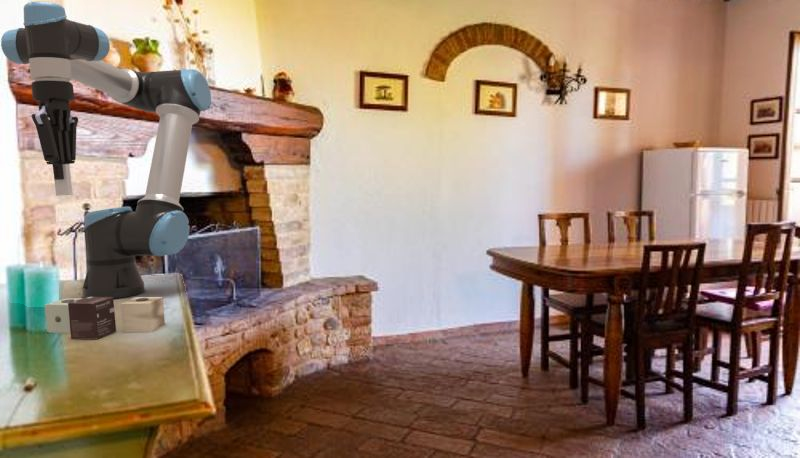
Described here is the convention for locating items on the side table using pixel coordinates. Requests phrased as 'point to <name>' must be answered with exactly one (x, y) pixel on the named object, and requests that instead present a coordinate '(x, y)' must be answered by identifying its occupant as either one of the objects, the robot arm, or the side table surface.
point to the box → (91, 317)
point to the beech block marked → (142, 314)
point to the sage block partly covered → (58, 316)
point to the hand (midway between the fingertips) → (64, 195)
